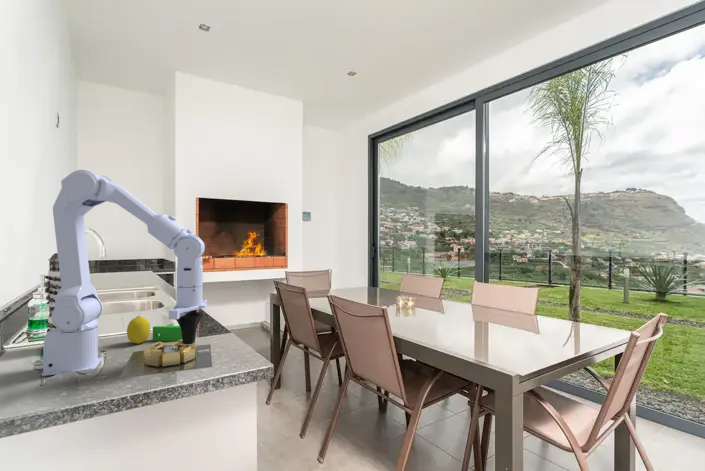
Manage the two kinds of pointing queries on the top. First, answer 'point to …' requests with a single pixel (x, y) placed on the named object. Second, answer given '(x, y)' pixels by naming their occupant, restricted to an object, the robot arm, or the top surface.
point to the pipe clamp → (167, 333)
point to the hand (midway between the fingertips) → (189, 343)
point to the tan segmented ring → (169, 353)
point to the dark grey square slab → (140, 368)
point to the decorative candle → (52, 287)
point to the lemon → (138, 330)
